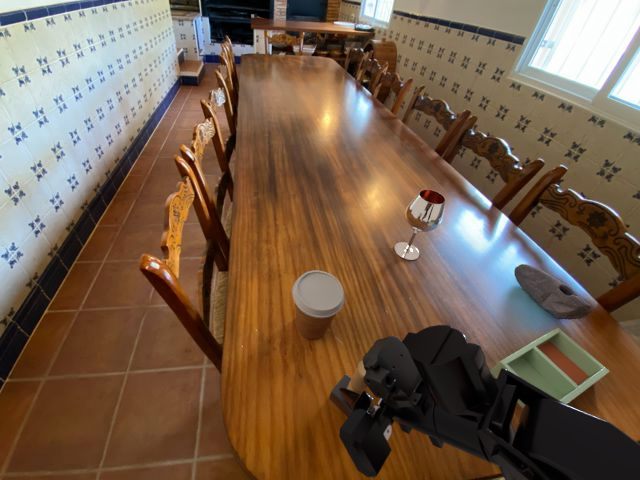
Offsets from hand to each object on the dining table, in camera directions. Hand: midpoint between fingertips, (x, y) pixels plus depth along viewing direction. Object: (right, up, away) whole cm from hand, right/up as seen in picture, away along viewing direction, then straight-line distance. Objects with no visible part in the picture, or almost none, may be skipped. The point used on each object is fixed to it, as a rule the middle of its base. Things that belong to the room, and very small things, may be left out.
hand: (349, 379), depth 46 cm
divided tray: (+38, -4, +9) cm, 39 cm away
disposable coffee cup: (-5, +3, +14) cm, 15 cm away
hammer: (+1, -6, +3) cm, 7 cm away
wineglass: (+22, +16, +32) cm, 42 cm away
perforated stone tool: (+48, +6, +23) cm, 54 cm away
